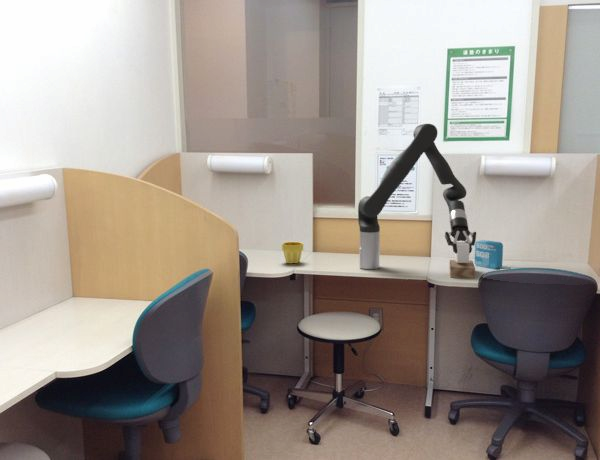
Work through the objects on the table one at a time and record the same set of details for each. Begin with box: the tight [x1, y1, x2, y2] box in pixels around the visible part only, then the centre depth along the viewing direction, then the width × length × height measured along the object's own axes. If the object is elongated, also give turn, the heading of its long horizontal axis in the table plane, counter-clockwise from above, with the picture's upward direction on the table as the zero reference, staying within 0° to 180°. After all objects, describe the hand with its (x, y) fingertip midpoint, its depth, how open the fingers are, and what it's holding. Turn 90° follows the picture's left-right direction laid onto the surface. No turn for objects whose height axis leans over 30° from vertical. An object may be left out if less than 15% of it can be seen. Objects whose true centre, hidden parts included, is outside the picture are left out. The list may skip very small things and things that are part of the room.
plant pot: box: [281, 241, 304, 264], centre depth 288 cm, size 10×10×10 cm
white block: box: [454, 241, 470, 263], centre depth 259 cm, size 5×6×8 cm
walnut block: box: [448, 259, 476, 280], centre depth 260 cm, size 10×16×5 cm, turn 168°
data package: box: [473, 239, 504, 270], centre depth 273 cm, size 12×4×12 cm, turn 40°
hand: (462, 252), depth 257 cm, fingers open, 5 cm apart
